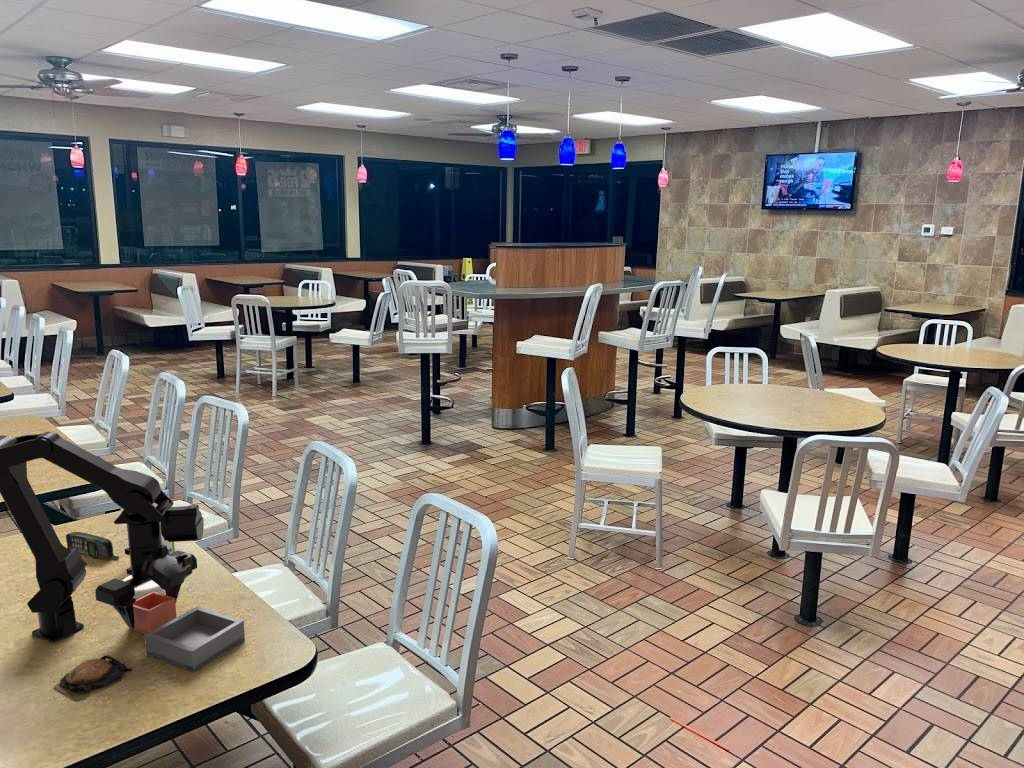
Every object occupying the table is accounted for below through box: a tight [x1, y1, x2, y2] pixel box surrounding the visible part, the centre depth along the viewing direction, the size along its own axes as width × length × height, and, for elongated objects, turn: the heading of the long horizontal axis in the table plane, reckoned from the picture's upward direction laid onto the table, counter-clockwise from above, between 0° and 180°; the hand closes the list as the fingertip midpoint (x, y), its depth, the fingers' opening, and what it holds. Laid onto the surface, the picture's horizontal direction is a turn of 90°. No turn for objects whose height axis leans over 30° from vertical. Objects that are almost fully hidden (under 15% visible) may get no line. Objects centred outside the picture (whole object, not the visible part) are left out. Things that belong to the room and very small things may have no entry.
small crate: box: [132, 591, 178, 635], centre depth 150 cm, size 6×6×5 cm
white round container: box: [121, 575, 166, 599], centre depth 162 cm, size 10×10×4 cm
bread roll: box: [53, 655, 133, 702], centre depth 132 cm, size 11×8×4 cm
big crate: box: [144, 606, 246, 673], centre depth 142 cm, size 12×12×4 cm
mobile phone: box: [65, 531, 120, 560], centre depth 180 cm, size 5×3×15 cm
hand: (152, 617), depth 150 cm, fingers open, 9 cm apart
